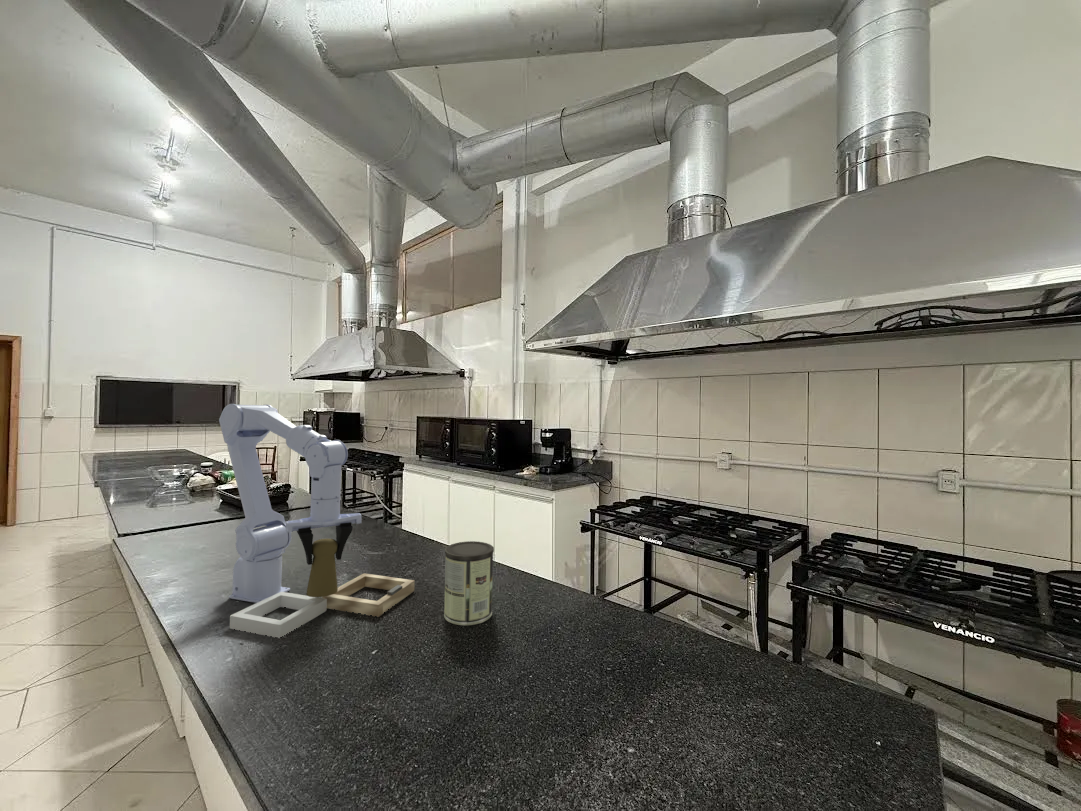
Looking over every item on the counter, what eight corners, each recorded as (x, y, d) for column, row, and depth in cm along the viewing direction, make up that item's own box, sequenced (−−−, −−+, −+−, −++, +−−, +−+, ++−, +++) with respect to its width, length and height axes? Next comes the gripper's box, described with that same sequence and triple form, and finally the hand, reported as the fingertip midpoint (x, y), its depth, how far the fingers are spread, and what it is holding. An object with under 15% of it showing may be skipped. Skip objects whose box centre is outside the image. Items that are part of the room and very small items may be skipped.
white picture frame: (229, 628, 86) (230, 615, 86) (280, 602, 98) (280, 591, 98) (279, 638, 83) (280, 624, 83) (326, 610, 95) (326, 598, 95)
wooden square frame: (322, 607, 96) (322, 593, 96) (363, 583, 110) (364, 570, 110) (378, 616, 93) (378, 602, 93) (414, 590, 106) (414, 577, 106)
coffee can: (461, 600, 102) (463, 538, 102) (500, 609, 97) (502, 545, 98) (432, 618, 92) (434, 550, 93) (474, 630, 88) (476, 559, 88)
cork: (326, 598, 91) (329, 543, 92) (299, 596, 92) (302, 541, 93) (343, 588, 97) (346, 537, 98) (318, 586, 98) (320, 535, 99)
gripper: (290, 504, 88) (287, 573, 88) (366, 497, 96) (364, 560, 96) (285, 498, 93) (283, 562, 93) (357, 491, 102) (355, 551, 102)
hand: (324, 560), depth 95 cm, fingers closed on cork, 5 cm apart
